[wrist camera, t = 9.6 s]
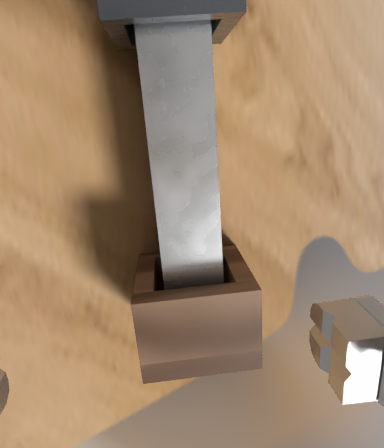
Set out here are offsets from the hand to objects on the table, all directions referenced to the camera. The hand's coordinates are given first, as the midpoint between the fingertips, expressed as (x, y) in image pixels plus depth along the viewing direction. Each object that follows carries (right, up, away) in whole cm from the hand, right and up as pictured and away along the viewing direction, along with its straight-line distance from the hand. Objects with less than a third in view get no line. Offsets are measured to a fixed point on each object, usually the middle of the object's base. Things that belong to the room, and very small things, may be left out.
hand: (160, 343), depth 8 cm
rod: (0, +7, +15) cm, 16 cm away
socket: (+1, -2, +19) cm, 19 cm away
